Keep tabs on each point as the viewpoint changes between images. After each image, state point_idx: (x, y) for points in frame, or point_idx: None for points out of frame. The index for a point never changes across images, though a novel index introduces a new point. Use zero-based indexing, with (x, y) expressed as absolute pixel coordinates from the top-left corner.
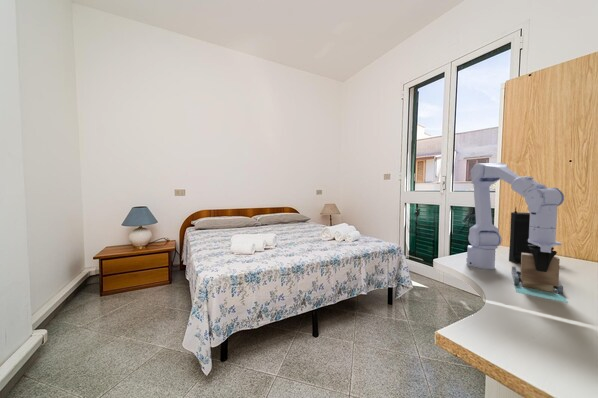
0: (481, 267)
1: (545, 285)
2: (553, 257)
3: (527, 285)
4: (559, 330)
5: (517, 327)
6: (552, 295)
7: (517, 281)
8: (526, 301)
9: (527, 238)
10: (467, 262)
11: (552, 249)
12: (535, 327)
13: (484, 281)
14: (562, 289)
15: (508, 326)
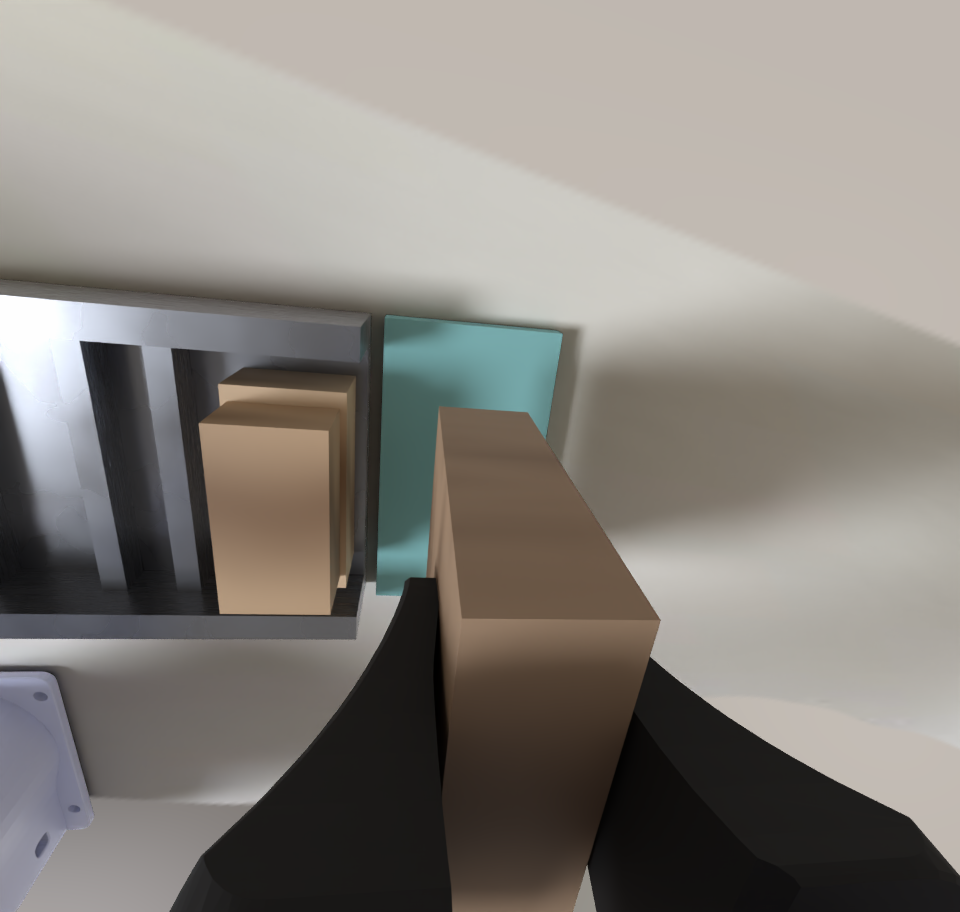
0: (51, 767)
1: (349, 441)
2: (568, 685)
3: (353, 533)
4: (932, 469)
5: (944, 612)
6: (451, 399)
7: (358, 603)
8: None
9: None
10: (45, 861)
11: (443, 882)
12: (927, 553)
13: None
14: (364, 327)
15: (943, 638)
